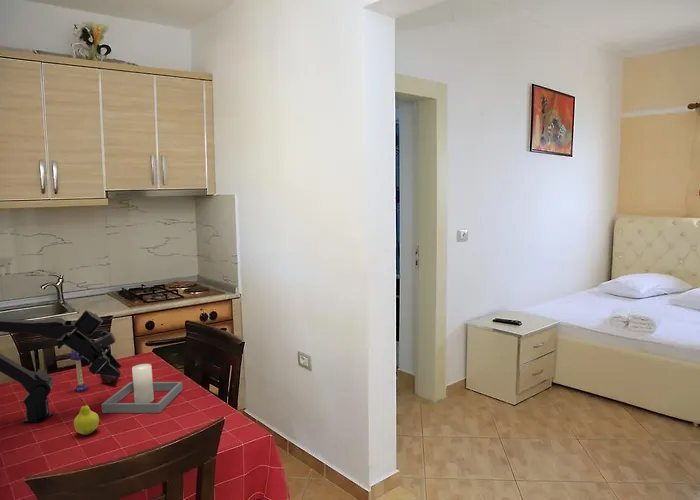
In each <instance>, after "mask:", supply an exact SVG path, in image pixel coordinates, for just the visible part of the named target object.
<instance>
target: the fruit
mask: <svg viewBox="0 0 700 500" xmlns="http://www.w3.org/2000/svg"><path fill="white" fill-rule="evenodd" d="M78 400H79V401H81V402H83V405H82V406H81V408H80V409H79V413H78V414H77V415H76V416H75V418H74V420H73V426H74V427H73V428H74V429H75V431H76V432H77V433H78V434H81V435H82V436H83V435H84V436H88V435H91V434H92V433H93V432H94V431H95V430H96V429H97V428H98V427H99V423H100V416H99V415H98V414H97V412H94V411H92V410H91V409H90V407H89V405H86V404H85V402H84V400H83V399H81V398H80V397H78Z"/></svg>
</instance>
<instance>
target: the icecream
mask: <svg viewBox="0 0 700 500" xmlns="http://www.w3.org/2000/svg"><path fill="white" fill-rule="evenodd" d="M114 368H115V369H116V370H117V371H118V372H119V373H120V374H121V371H120V368H116V367H114ZM99 377H100V380H101V382H104V383H106V384H112V383H116V382H117V381H118V379H119V378H120V377H121V375H120V376H119V377H116V376H109V375H102V374H99Z"/></svg>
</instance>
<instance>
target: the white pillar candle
mask: <svg viewBox="0 0 700 500" xmlns="http://www.w3.org/2000/svg"><path fill="white" fill-rule="evenodd" d="M131 371H132V382H133V387H134V391H133V396H134V403H152V402H154V400H155V395H154V394H155V393H154V392H155V391H153V382H154V381H153V369H152V364H151V363H140V364H136V365H134V366H132V367H131Z"/></svg>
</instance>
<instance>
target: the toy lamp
mask: <svg viewBox="0 0 700 500" xmlns="http://www.w3.org/2000/svg"><path fill="white" fill-rule="evenodd" d="M77 355H78V353H76V352H75V351H73V350H72V349H71V353H70V357H69V358H70V360H71V361H75V366H76V367H75V370H76V377H77V386H75V388H74V392H76V393H83V392H85V391H87V390H88V386H87V384H84V378H83V370H82V369H83V368H82V362H81V360H82V359H83V357H82V356H81V357H79V356H77Z"/></svg>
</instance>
